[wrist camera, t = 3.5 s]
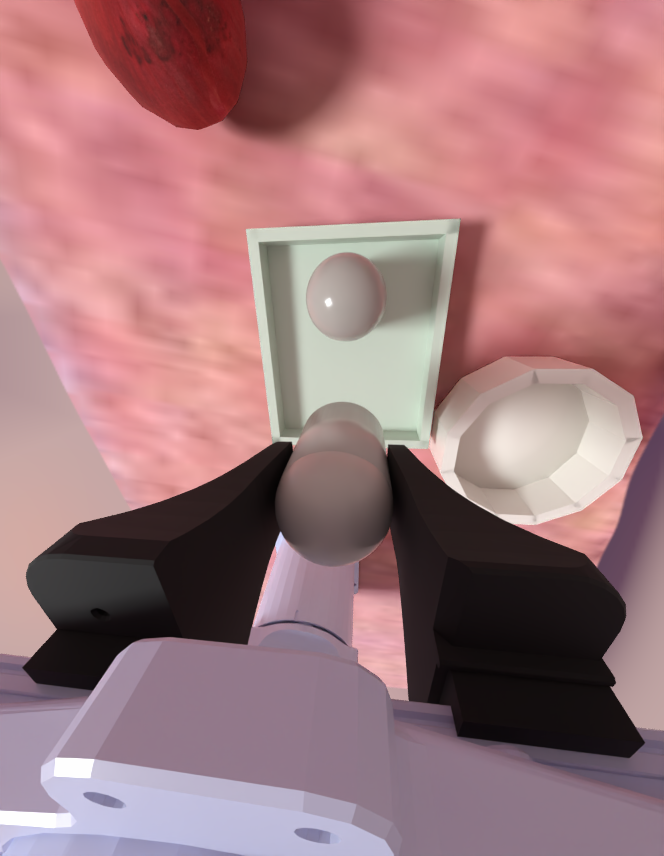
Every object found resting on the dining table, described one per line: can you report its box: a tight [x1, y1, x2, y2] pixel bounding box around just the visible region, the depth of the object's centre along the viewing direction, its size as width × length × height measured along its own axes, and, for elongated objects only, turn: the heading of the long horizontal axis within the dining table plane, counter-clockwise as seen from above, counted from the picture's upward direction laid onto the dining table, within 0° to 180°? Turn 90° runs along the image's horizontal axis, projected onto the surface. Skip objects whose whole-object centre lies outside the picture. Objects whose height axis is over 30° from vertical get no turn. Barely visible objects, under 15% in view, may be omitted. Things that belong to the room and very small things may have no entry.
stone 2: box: [275, 402, 394, 567], centre depth 10 cm, size 4×4×6 cm
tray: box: [246, 219, 461, 449], centre depth 18 cm, size 13×11×2 cm
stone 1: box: [306, 252, 387, 342], centre depth 14 cm, size 4×4×6 cm
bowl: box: [429, 356, 643, 525], centre depth 19 cm, size 11×11×4 cm
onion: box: [74, 0, 247, 130], centre depth 11 cm, size 6×6×8 cm
